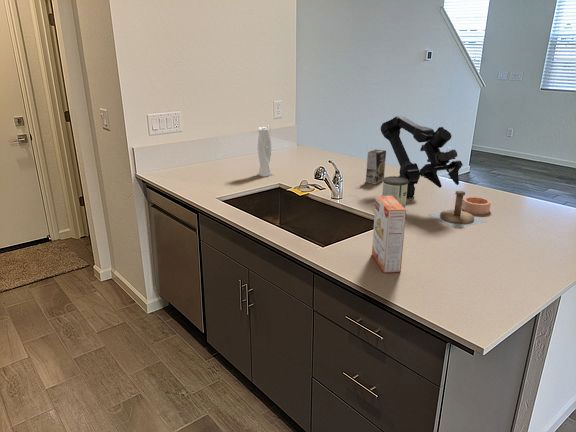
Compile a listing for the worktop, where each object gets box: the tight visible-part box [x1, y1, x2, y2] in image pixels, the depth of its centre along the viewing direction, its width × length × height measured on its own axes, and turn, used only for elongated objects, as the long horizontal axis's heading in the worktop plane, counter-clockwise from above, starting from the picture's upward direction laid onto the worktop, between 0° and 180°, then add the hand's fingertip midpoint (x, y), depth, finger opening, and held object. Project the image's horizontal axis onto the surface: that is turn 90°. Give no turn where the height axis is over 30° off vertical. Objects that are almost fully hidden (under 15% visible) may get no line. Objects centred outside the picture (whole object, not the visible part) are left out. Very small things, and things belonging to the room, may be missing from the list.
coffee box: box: [365, 149, 387, 185], centre depth 233 cm, size 9×6×16 cm
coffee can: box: [381, 175, 408, 209], centre depth 190 cm, size 10×10×14 cm
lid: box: [439, 190, 475, 224], centre depth 182 cm, size 13×13×11 cm
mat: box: [428, 211, 487, 229], centre depth 184 cm, size 16×16×1 cm
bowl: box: [461, 196, 492, 215], centre depth 193 cm, size 11×11×4 cm
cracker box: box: [371, 195, 407, 274], centre depth 142 cm, size 14×6×21 cm, turn 5°
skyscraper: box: [256, 124, 274, 178], centre depth 242 cm, size 8×8×28 cm
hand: (449, 185), depth 185 cm, fingers open, 9 cm apart
